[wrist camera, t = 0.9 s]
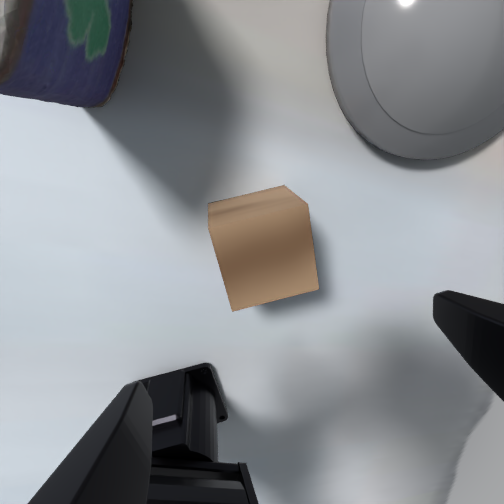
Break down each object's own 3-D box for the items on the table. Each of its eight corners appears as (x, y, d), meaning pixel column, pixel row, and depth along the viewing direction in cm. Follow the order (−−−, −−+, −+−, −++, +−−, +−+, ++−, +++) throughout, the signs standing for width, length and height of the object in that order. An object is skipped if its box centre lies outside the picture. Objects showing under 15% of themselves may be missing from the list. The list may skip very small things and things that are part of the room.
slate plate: (536, 131, 20) (554, 131, 19) (337, 180, 19) (344, 183, 18) (593, -179, 14) (623, -203, 13) (310, -124, 13) (319, -144, 12)
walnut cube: (295, 253, 21) (319, 289, 17) (226, 270, 21) (232, 311, 16) (284, 184, 19) (307, 204, 14) (208, 203, 19) (208, 228, 14)
